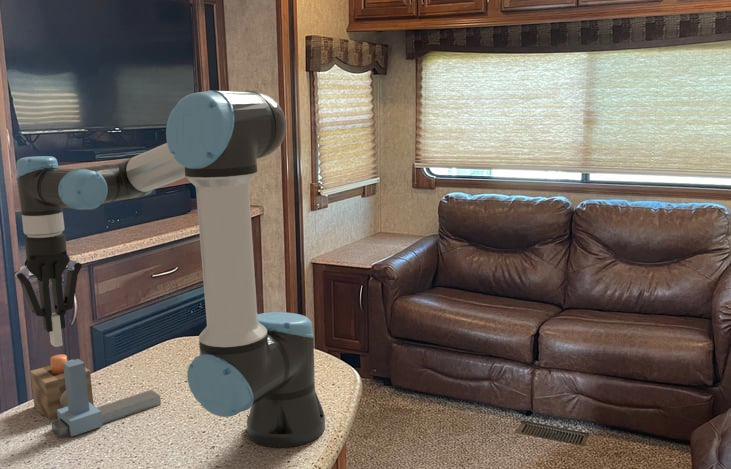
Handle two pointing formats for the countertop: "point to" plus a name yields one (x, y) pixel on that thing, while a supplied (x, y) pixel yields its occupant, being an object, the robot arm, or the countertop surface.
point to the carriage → (78, 401)
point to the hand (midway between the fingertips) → (56, 344)
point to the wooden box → (52, 391)
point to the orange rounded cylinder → (58, 364)
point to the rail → (115, 410)
